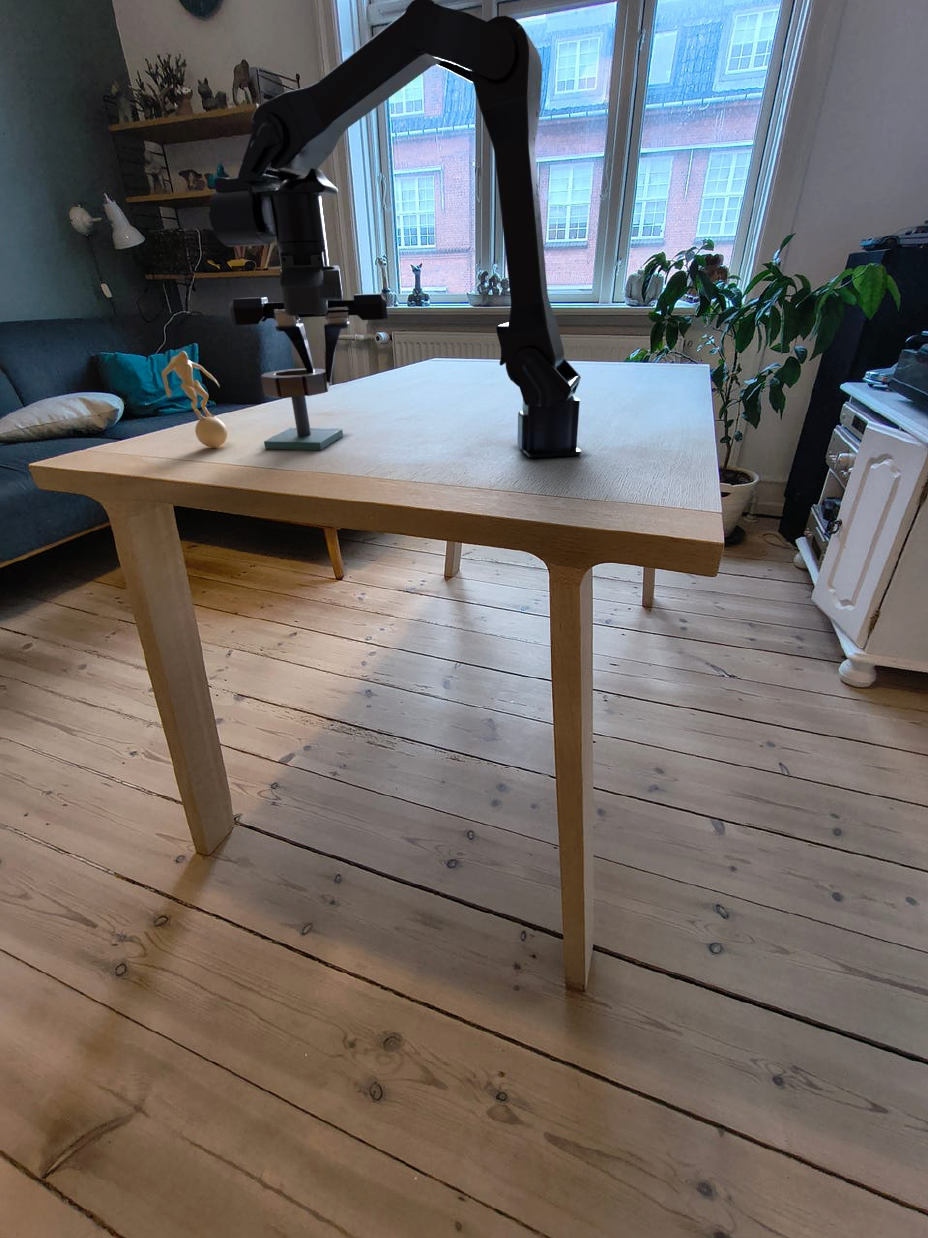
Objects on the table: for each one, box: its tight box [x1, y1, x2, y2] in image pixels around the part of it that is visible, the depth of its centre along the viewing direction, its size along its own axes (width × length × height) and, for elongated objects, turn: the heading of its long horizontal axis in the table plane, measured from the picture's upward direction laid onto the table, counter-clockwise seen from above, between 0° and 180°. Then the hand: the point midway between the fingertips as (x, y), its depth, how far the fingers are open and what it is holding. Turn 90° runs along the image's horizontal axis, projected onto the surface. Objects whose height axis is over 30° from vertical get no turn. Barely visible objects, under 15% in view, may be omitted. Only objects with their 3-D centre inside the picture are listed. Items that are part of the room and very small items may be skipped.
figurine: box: [161, 350, 228, 448], centre depth 78 cm, size 8×6×12 cm
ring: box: [260, 367, 330, 399], centre depth 78 cm, size 8×8×2 cm
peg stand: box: [263, 396, 344, 451], centre depth 80 cm, size 8×8×8 cm
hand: (321, 382), depth 78 cm, fingers closed on ring, 2 cm apart
